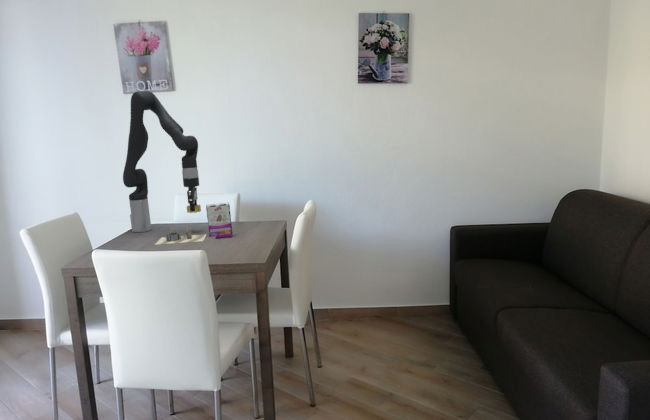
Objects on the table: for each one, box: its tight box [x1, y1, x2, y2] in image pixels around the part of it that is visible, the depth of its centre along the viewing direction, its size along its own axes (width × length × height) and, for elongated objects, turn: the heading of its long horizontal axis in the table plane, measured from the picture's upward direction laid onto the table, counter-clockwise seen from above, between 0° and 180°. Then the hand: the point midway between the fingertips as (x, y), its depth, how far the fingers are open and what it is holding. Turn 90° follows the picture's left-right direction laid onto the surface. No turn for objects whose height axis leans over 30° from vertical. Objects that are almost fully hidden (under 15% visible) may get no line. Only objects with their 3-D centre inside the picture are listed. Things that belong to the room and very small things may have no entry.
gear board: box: [154, 225, 208, 246], centre depth 222 cm, size 22×14×7 cm, turn 96°
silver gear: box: [165, 231, 182, 242], centre depth 222 cm, size 6×6×3 cm
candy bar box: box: [205, 202, 233, 239], centre depth 227 cm, size 11×5×16 cm, turn 105°
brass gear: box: [186, 204, 202, 214], centre depth 233 cm, size 6×6×3 cm
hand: (193, 209), depth 233 cm, fingers closed on brass gear, 6 cm apart
